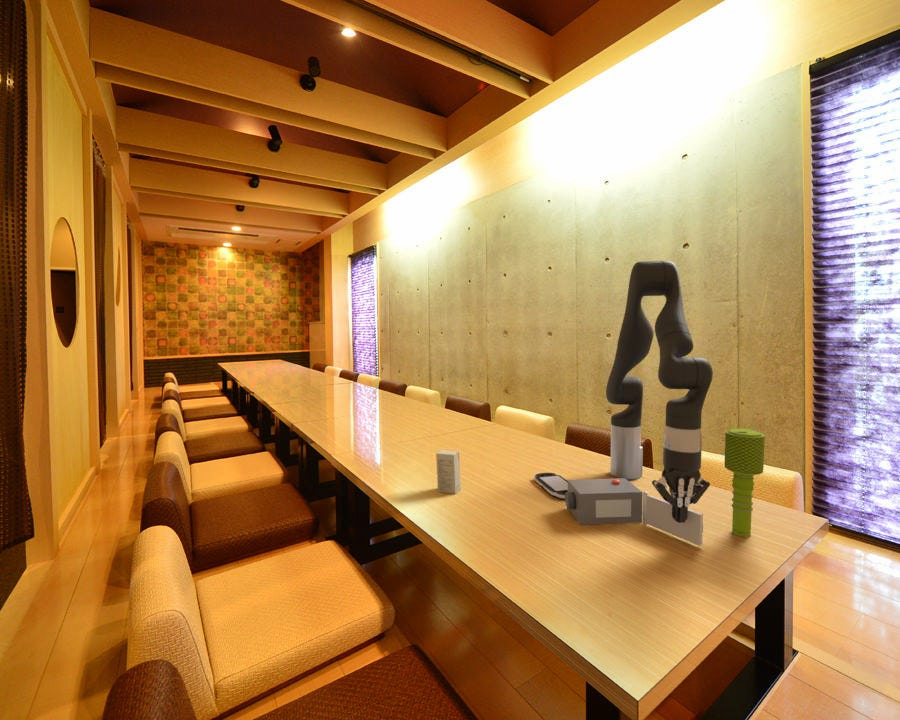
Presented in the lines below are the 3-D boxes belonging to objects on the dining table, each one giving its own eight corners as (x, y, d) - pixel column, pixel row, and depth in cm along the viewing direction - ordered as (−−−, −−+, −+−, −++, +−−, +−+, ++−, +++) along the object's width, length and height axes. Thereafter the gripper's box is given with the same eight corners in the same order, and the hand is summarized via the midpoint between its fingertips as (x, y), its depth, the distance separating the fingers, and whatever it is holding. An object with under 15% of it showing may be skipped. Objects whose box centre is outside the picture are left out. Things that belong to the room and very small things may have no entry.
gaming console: (530, 480, 141) (530, 472, 141) (555, 477, 143) (555, 470, 143) (556, 503, 122) (556, 494, 122) (585, 499, 124) (585, 491, 124)
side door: (699, 548, 95) (700, 512, 94) (641, 523, 107) (642, 491, 107) (703, 545, 96) (704, 510, 95) (645, 521, 108) (646, 490, 107)
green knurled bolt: (762, 544, 96) (766, 435, 95) (722, 536, 100) (725, 432, 99) (759, 529, 103) (763, 428, 101) (722, 522, 107) (725, 425, 105)
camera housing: (561, 508, 117) (561, 477, 117) (624, 506, 118) (625, 475, 117) (573, 525, 107) (574, 491, 107) (642, 523, 108) (643, 489, 107)
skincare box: (461, 489, 132) (460, 451, 131) (455, 494, 128) (454, 455, 127) (442, 486, 135) (441, 449, 134) (436, 491, 131) (435, 452, 130)
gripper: (664, 452, 91) (661, 530, 92) (721, 450, 92) (718, 527, 93) (644, 442, 98) (642, 515, 99) (698, 441, 100) (695, 512, 101)
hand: (679, 521), depth 96 cm, fingers closed
